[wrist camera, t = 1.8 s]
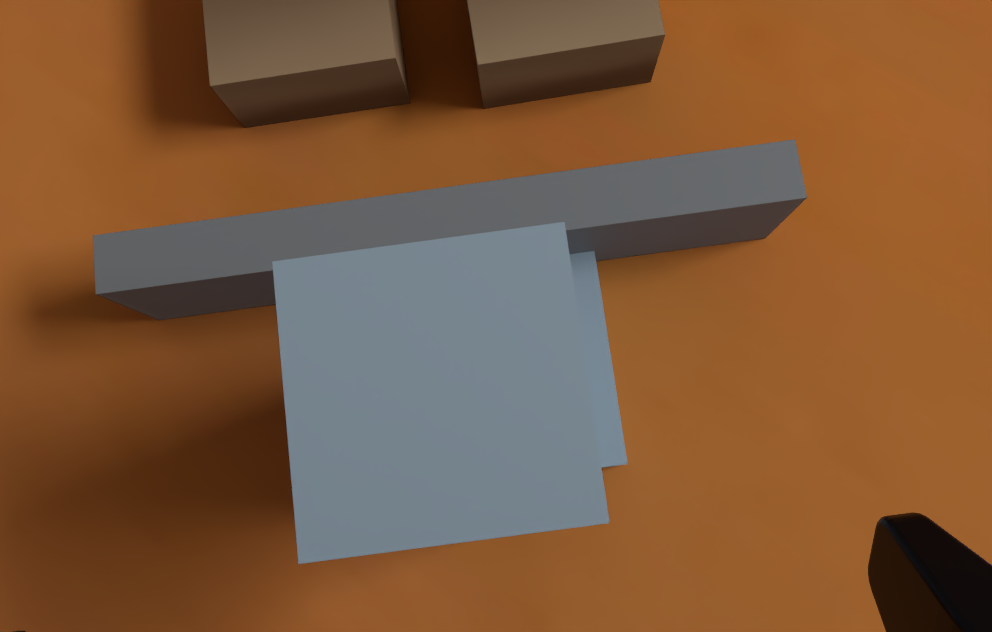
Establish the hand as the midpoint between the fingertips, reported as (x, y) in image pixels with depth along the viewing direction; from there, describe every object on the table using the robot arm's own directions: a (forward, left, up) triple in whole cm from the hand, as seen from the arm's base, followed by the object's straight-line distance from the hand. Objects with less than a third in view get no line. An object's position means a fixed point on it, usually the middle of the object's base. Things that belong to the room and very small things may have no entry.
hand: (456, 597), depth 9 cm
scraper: (+3, +2, -10) cm, 11 cm away
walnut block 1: (+9, +8, -10) cm, 16 cm away
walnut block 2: (+12, +3, -10) cm, 16 cm away
